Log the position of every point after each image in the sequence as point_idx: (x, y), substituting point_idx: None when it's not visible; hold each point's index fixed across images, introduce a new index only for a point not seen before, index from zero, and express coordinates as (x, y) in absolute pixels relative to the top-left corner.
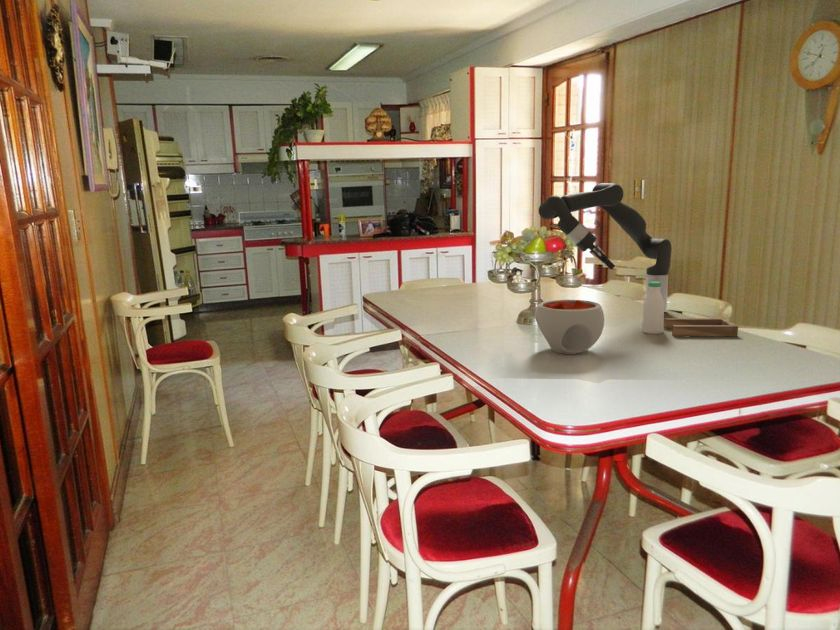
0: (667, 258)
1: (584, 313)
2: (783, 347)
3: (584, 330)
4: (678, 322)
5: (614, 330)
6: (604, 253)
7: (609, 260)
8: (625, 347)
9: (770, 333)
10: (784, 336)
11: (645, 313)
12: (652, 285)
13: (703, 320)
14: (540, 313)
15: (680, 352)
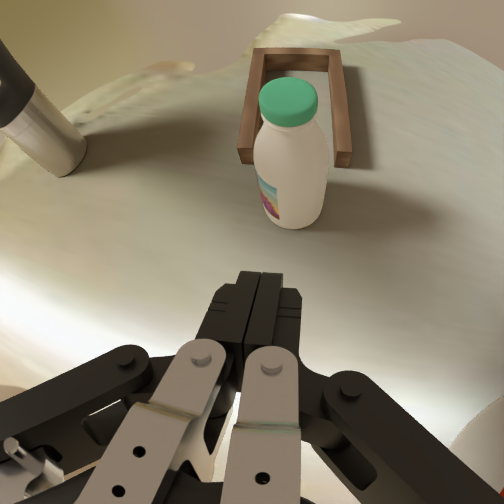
0: (11, 56)
1: None
2: (407, 48)
3: None
4: (256, 125)
5: None
6: (300, 447)
7: (273, 333)
8: (465, 319)
9: (305, 28)
10: (328, 23)
11: (307, 200)
12: (313, 113)
13: (261, 79)
14: None
15: (489, 204)
